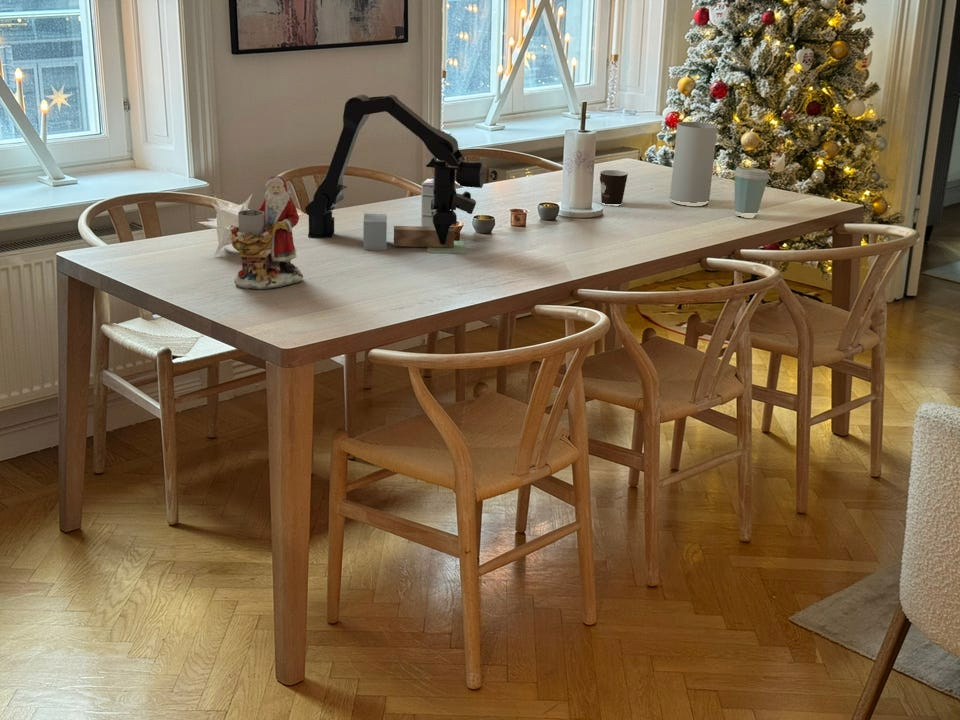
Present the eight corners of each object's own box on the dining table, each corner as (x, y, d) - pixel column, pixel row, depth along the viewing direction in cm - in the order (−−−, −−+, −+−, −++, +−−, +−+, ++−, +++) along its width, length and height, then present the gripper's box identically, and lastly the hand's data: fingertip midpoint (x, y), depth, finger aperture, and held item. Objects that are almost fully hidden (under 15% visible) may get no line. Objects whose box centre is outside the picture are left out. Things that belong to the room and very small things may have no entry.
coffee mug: (626, 207, 369) (629, 176, 366) (599, 206, 369) (601, 175, 366) (622, 199, 380) (625, 168, 376) (596, 198, 380) (598, 167, 376)
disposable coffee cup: (732, 210, 371) (737, 163, 366) (766, 215, 368) (772, 167, 362) (726, 217, 362) (731, 169, 356) (761, 222, 358) (767, 173, 353)
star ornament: (186, 250, 304) (184, 194, 299) (230, 242, 314) (228, 188, 310) (238, 263, 292) (236, 206, 287) (281, 254, 303) (280, 198, 298)
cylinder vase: (665, 198, 384) (672, 121, 376) (702, 198, 386) (710, 122, 377) (675, 207, 373) (683, 127, 364) (713, 207, 374) (722, 128, 366)
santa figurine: (238, 293, 271) (235, 186, 262) (226, 276, 283) (222, 174, 274) (309, 287, 277) (308, 183, 268) (294, 271, 289) (292, 171, 280)
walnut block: (393, 246, 313) (394, 229, 311) (393, 242, 317) (393, 225, 315) (453, 247, 314) (454, 230, 313) (453, 243, 318) (453, 227, 316)
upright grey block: (363, 249, 310) (363, 221, 307) (364, 240, 318) (364, 213, 316) (386, 250, 311) (386, 222, 308) (386, 241, 319) (386, 213, 316)
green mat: (428, 252, 310) (428, 251, 310) (426, 240, 321) (426, 240, 321) (466, 253, 311) (466, 252, 311) (463, 241, 322) (463, 240, 322)
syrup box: (440, 235, 328) (442, 183, 322) (420, 233, 329) (421, 182, 324) (445, 230, 333) (447, 179, 328) (425, 228, 334) (426, 178, 329)
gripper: (477, 193, 302) (474, 252, 307) (472, 178, 319) (470, 234, 325) (433, 192, 301) (432, 251, 306) (431, 177, 318) (429, 233, 324)
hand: (442, 242), depth 315 cm, fingers closed on walnut block, 4 cm apart
